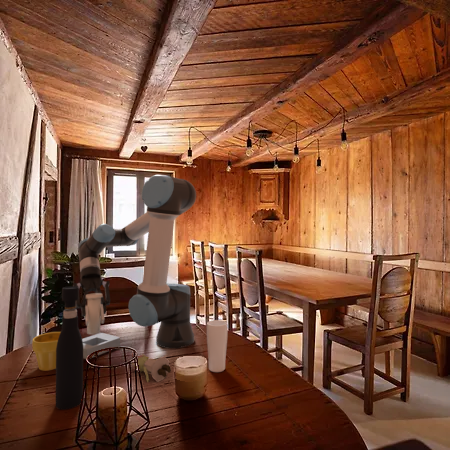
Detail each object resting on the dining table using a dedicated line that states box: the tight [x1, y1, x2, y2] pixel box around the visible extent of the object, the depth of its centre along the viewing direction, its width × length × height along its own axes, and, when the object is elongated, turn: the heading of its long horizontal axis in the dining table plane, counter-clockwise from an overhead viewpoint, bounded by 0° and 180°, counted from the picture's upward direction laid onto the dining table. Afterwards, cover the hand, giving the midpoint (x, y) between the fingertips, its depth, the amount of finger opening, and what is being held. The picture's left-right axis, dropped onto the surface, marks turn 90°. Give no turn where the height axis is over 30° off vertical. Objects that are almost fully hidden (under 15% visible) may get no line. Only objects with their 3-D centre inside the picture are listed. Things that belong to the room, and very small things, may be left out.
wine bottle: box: [55, 285, 84, 411], centre depth 84 cm, size 6×6×30 cm
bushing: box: [86, 292, 104, 335], centre depth 120 cm, size 6×6×14 cm
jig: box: [82, 332, 121, 360], centre depth 121 cm, size 11×15×4 cm
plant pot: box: [31, 331, 61, 372], centre depth 106 cm, size 10×10×10 cm
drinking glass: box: [206, 319, 228, 373], centre depth 105 cm, size 7×7×15 cm
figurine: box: [131, 352, 172, 383], centre depth 100 cm, size 9×7×15 cm
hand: (95, 322), depth 117 cm, fingers closed on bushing, 4 cm apart
